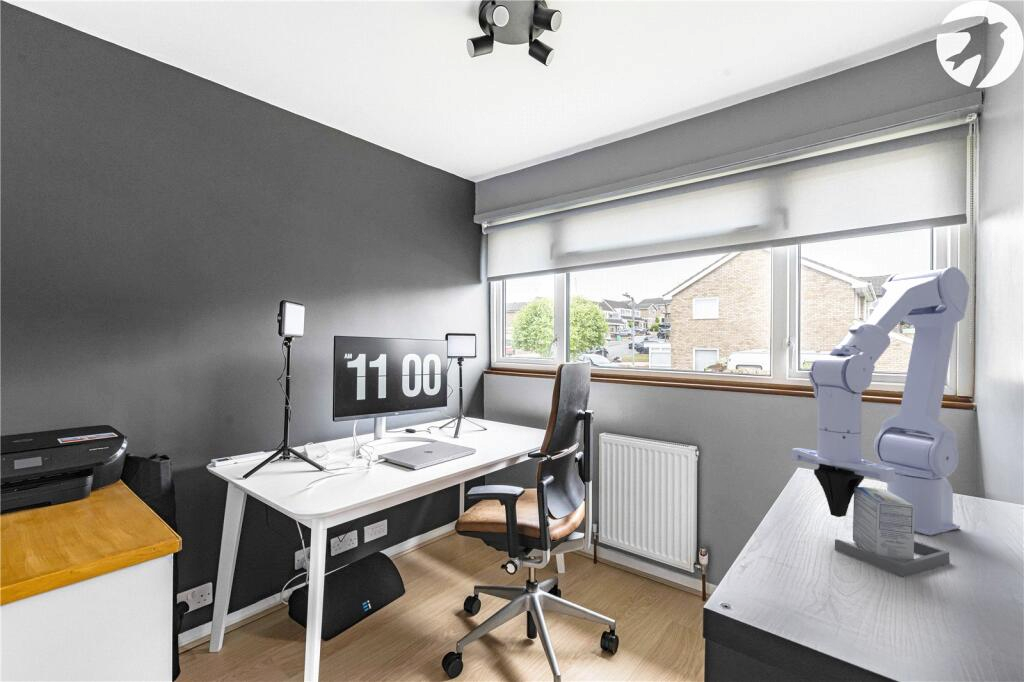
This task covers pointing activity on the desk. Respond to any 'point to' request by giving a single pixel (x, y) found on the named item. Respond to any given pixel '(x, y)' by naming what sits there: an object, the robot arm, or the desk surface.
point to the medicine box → (883, 523)
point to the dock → (928, 561)
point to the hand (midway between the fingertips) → (838, 515)
